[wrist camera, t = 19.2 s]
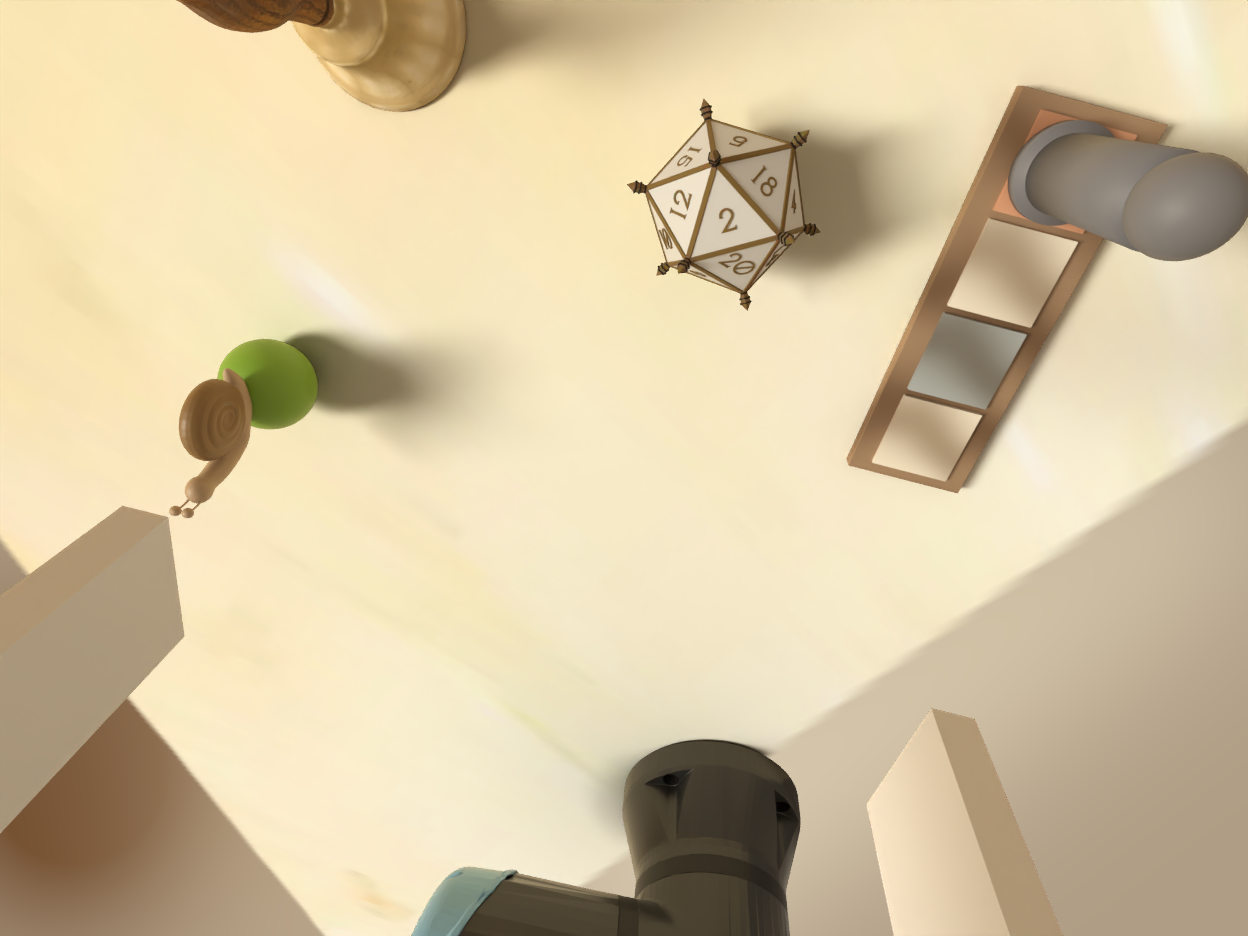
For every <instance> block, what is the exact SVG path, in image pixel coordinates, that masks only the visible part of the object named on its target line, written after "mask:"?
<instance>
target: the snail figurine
mask: <svg viewBox="0 0 1248 936" xmlns="http://www.w3.org/2000/svg"><path fill="white" fill-rule="evenodd" d="M317 392H318V382H317V376H316V373H315V370H314V368H313V366H312V365H311V363H310V361H309V360H308V359H307V358H306V357H305V356H304V355H303V354H302V353H301V352H300V351H299V350H297V349H296V348H294V347H293V346H291V345H289V344H287V343H284V342H281V341H277V340H271V339H259V340H253V341H249V342H246V343H244V344H241V345H239V346H238V347H236V348H235V349H233V350H232V351H231V352H230V353H229V354H228V355H227V356H226V357H225V359H224V360H223V362H222V364H221V366H220V369H219V372H218V378H217V379H211V380H207V381H205V382H202V383H201V384H199V385H198V386H196V387H195V388H194V389H193V390H192V391H191V393H190V394H189V395H188V397H187V399H186V400H185V402H184V404H183V407H182V410H181V414H180V419H179V434H180V438H181V442H182V444H183V446H184V448H185V449H186V450H187V452H188V453H189V454H190V455H192V456H193V457H194V458H197V459H199V460H203V461H209V462H208V464H207V465H206V466H205V468H204V469H203V470H202V472H201V473H200V474H199V475H198V476H197V477H194V478H192V479H191V480H190V481H189V482H188V483H187V484H186V487H185V494H186V497H187V498H188V500H187V501H186V502H185V503H184V504H183V505H182V506H181V507H178V506H173V507H171V508H170V510H169V512H170V514H171V515H173V516H178V515H180V514H181V512H182V516H183V517H184V518H191V517H192V516H193V515H194V511H193V510H194V509H195V508H197V507H198V506H199V505H200V503H203V502H205V501H207V500H208V499H209V498H210V497H211V496H212V494H213V492H214V490H215V488H216V487H217V486H218V485H219V484H220V483H221V482H222V481H223V480H224V479H225V478H226V477H227V476H228V475H229V474H230V472H231V471H232V470H233V468H234V467H235V465H236V464H237V462H238V461H239V459H240V458H241V456H242V454H243V452H244V450H245V448H246V447H247V444H248V441H249V437H250V427H251V426H253V427H256V428H261V429H279V428H284V427H287V426H290V425H292V424H294V423H296V422H298V421H299V420H301V419H302V418H303V417H304V416H306V415H307V413H308V412H309V411H310V410H311V408H312V407H313V405H314V403H315V400H316V397H317ZM188 501H192V502H194V503H198V504H197V505H196V506H195V507H194V508H193V509H190V508H186V509H184V510H183V511H182V510H181V508H182V507H183V506H184V505H185V504H186V503H187V502H188Z"/></svg>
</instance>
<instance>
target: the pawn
mask: <svg viewBox="0 0 1248 936" xmlns="http://www.w3.org/2000/svg"><path fill="white" fill-rule="evenodd" d="M1008 194H1009V198H1010V201H1011V203H1012V205H1013V206H1014V208H1015V209H1016V210H1017V211H1018V213H1019V214H1021V215H1022V216H1023V217H1025V218H1027V219H1029V220H1031V221H1033V222H1036V223H1038V224H1042V225H1047V226H1058V225H1064V224H1068V223H1069V224H1071V225H1074V226H1076V227H1078V228H1081V229H1083V230H1086V231H1088V232H1091V233H1093V234H1095V235H1098V236H1100V237H1103V238H1105V239H1107V240H1110V241H1112V242H1115V243H1117V244H1120V245H1122V246H1124V247H1127V248H1129V249H1132V250H1135V251H1138V252H1141V253H1143V254H1145V255H1147V256H1149V257H1151V258H1154V259H1158V260H1164V261H1183V260H1188V259H1193V258H1197V257H1200V256H1203V255H1205V254H1208V253H1210V252H1212V251H1214V250H1216V249H1217V248H1219V247H1221V246H1222V245H1223V244H1225V243H1226V242H1227V241H1229V240H1230V239H1231V238H1232V237H1233V236H1234V235H1235V234H1236V233H1237V232H1238V231H1239V230H1240V228H1241V227H1242V226H1243V224H1244V222H1245V221H1246V219H1247V217H1248V174H1247V173H1246V172H1245V171H1244V169H1243V168H1242V167H1241V166H1240V165H1239V164H1238V163H1236V162H1235V161H1233V160H1231V159H1229V158H1227V157H1225V156H1222V155H1218V154H1213V153H1201V152H1198V151H1194V150H1188V149H1182V148H1175V147H1169V146H1163V145H1156V144H1150V143H1143V142H1137V141H1131V140H1124V139H1118V138H1115V136H1114V135H1113V134H1112V133H1111V132H1110V131H1109V130H1108V129H1107V128H1106V127H1104V126H1102V125H1100V124H1098V123H1095V122H1090V121H1084V120H1065V121H1061V122H1057V123H1054V124H1052V125H1050V126H1047V127H1045V128H1044V129H1042V130H1040V131H1039V132H1037V133H1036V134H1035V135H1034V136H1032V137H1031V138H1030V139H1029V140H1028V141H1027V142H1026V143H1025V144H1024V145H1023V147H1022V148H1021V149H1020V151H1019V152H1018V154H1017V155H1016V157H1015V159H1014V161H1013V163H1012V166H1011V168H1010V172H1009V176H1008Z"/></svg>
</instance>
